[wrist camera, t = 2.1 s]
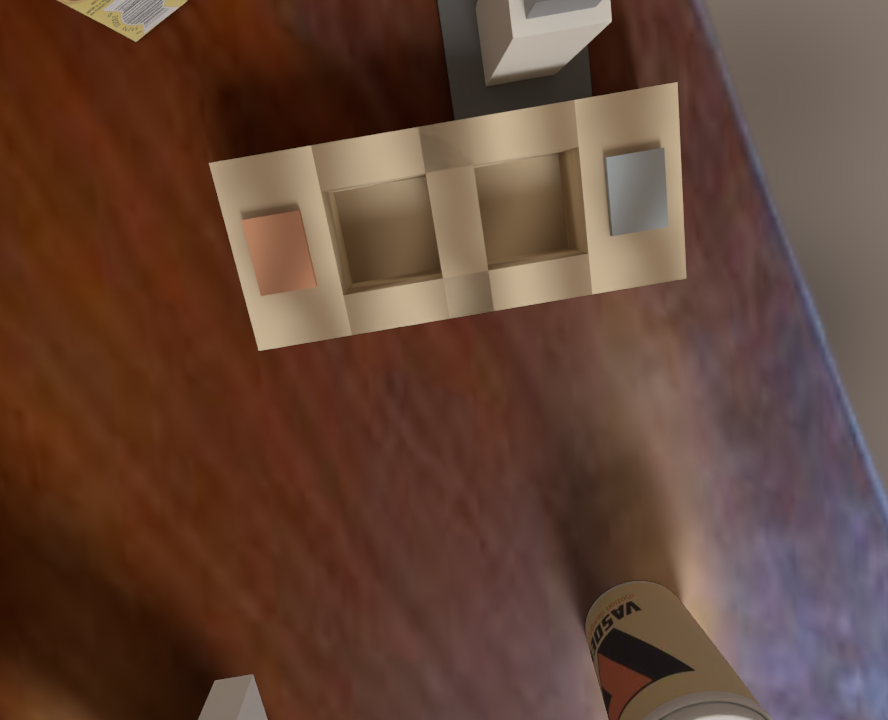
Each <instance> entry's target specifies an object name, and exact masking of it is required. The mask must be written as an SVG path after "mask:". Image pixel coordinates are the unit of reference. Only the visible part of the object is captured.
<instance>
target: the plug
mask: <svg viewBox="0 0 888 720" xmlns="http://www.w3.org/2000/svg"><path fill="white" fill-rule="evenodd" d="M476 16H477V23H478V31H479V38H480V46H481V54H482V61H483V69H484V76H485V84H486V86H492V85H498V84H503V83H509V82H515V81H521V80H526V79H532V78H538V77H544V76H549V75H555V74H556V73H557V72H558V71H559V70H561V69H562V68H563V67H564V66H565V65H566V64H567V63H568V62H569V61H570V60H571V59H572V58H573V57H574V56H576V55H577V54H578V53H579V52H580V51H581V50H582V49H583V48H584V47H585V46H586V45H587V44H588V43H589V42H590V41H592V40H593V39H594V38H595V37H596V36H597V35H598V34H599V33H600V32H601V31H602V30H603V29H604V28H605V27H607V26H608V25H609V24H610V23H611V22H612V15H611V2H610V0H478V1H477V4H476Z"/></svg>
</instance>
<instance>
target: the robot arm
mask: <svg viewBox="0 0 888 720" xmlns="http://www.w3.org/2000/svg"><path fill="white" fill-rule="evenodd" d="M198 720H268V719H267V716H266V713H265V710H264V707H263V704H262V701H261V698H260V695H259V691H258V688H257V685H256V682H255V679H254V676H253V674H251V675H245V676H239V677H233V678H227V679H221V680H215V681H214V684H213V686H212V688H211V691H210V693H209V695H208V698H207V700H206V702H205V705H204V707H203V709H202V711H201V714H200V716H199V718H198Z"/></svg>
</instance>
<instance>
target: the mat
mask: <svg viewBox="0 0 888 720" xmlns="http://www.w3.org/2000/svg"><path fill="white" fill-rule="evenodd" d="M477 1H478V0H437V5H438V12H439V19H440V26H441V32H442V39H443V46H444V53H445V59H446V66H447V73H448V80H449V86H450V93H451V100H452V107H453V113H454V120H455V121H456V120H461V119H467V118H473V117H479V116H485V115H490V114H496V113H502V112H508V111H513V110H519V109H525V108H531V107H537V106H542V105H548V104H554V103H560V102H566V101H571V100H577V99H583V98H589V97H592V87H591V75H590V63H589V52H588V44H587V45H586V46H585V47H584V48H583V49H582V50H581V51H580V52H579V53H578V54H577V55H576V56H574V57H573V58H572V59H571V60H570V61H569V62H568V63H567V64H566V65H565V66H564V67H563V68H562V69H561V70H559V71H558V72H557V73H556V74H555V75H549V76H544V77H538V78H532V79H526V80H521V81H515V82H509V83H503V84H498V85H492V86H486V84H485V76H484V69H483V61H482V54H481V46H480V38H479V31H478V23H477V16H476V4H477Z"/></svg>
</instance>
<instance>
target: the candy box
mask: <svg viewBox="0 0 888 720" xmlns="http://www.w3.org/2000/svg"><path fill="white" fill-rule="evenodd" d="M58 1H60V2H61V3H63V4H65V5H67V6H69V7H71V8H73V9H75V10H77V11H79V12H81V13H82V14H84V15H86V16H88V17H90V18H92V19H94V20H96V21H98V22H100V23H102V24H103V25H105V26H107V27H109V28H111V29H113V30H114V31H116V32H118V33H120V34H122V35H124V36H126V37H128V38H130V39H132V40H133V41H135V42H137V41H138V40H139V39H141V38H142V37H143V36H144V35H146V34H147V33H148V32H149V31H150V30H152V29H153V28H154V27H155V26H157V25H158V24H159V23H160V22H161V21H163V20H164V19H165V18H166V17H168V16H169V15H170V14H172V13H173V12H174V11H176V10H177V9H178V8H179V7H180V6H182V5H183V4H184V3H185V2H187V1H188V0H58Z"/></svg>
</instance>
